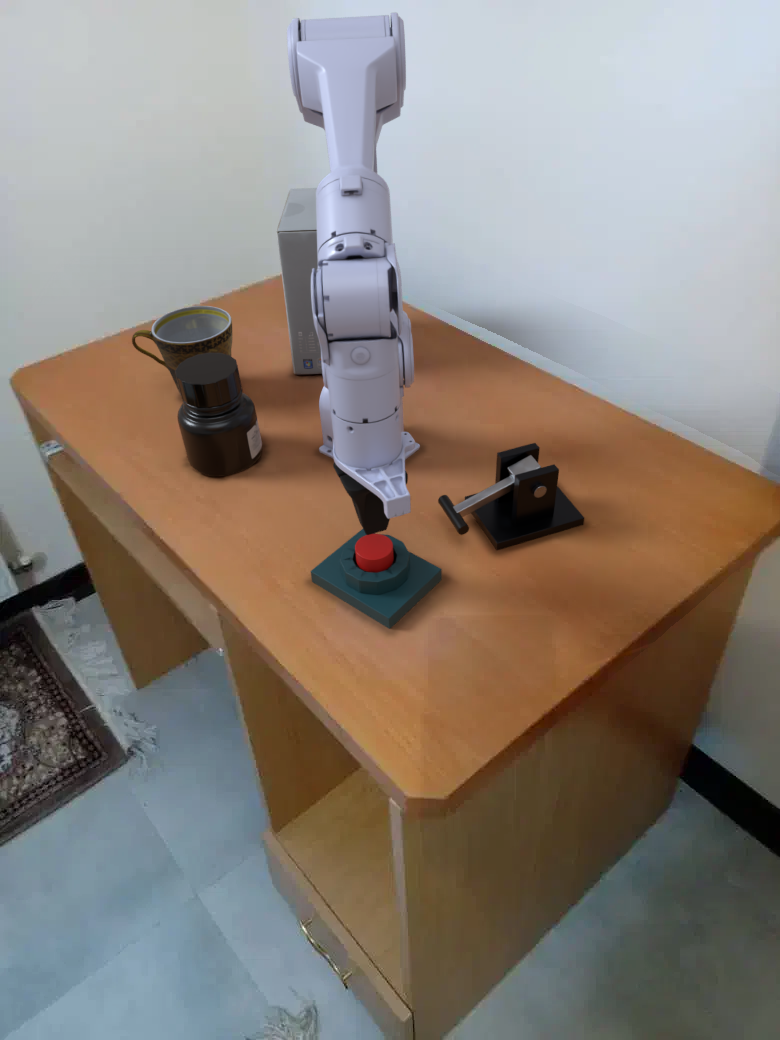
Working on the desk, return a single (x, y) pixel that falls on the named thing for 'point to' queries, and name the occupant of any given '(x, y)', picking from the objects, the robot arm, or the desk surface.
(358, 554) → the power button
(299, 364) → the hard drive box
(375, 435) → the robot arm
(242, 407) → the ink bottle
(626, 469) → the desk surface
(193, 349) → the ceramic cup
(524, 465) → the switch lever
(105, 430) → the desk surface
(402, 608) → the button box
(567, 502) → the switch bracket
